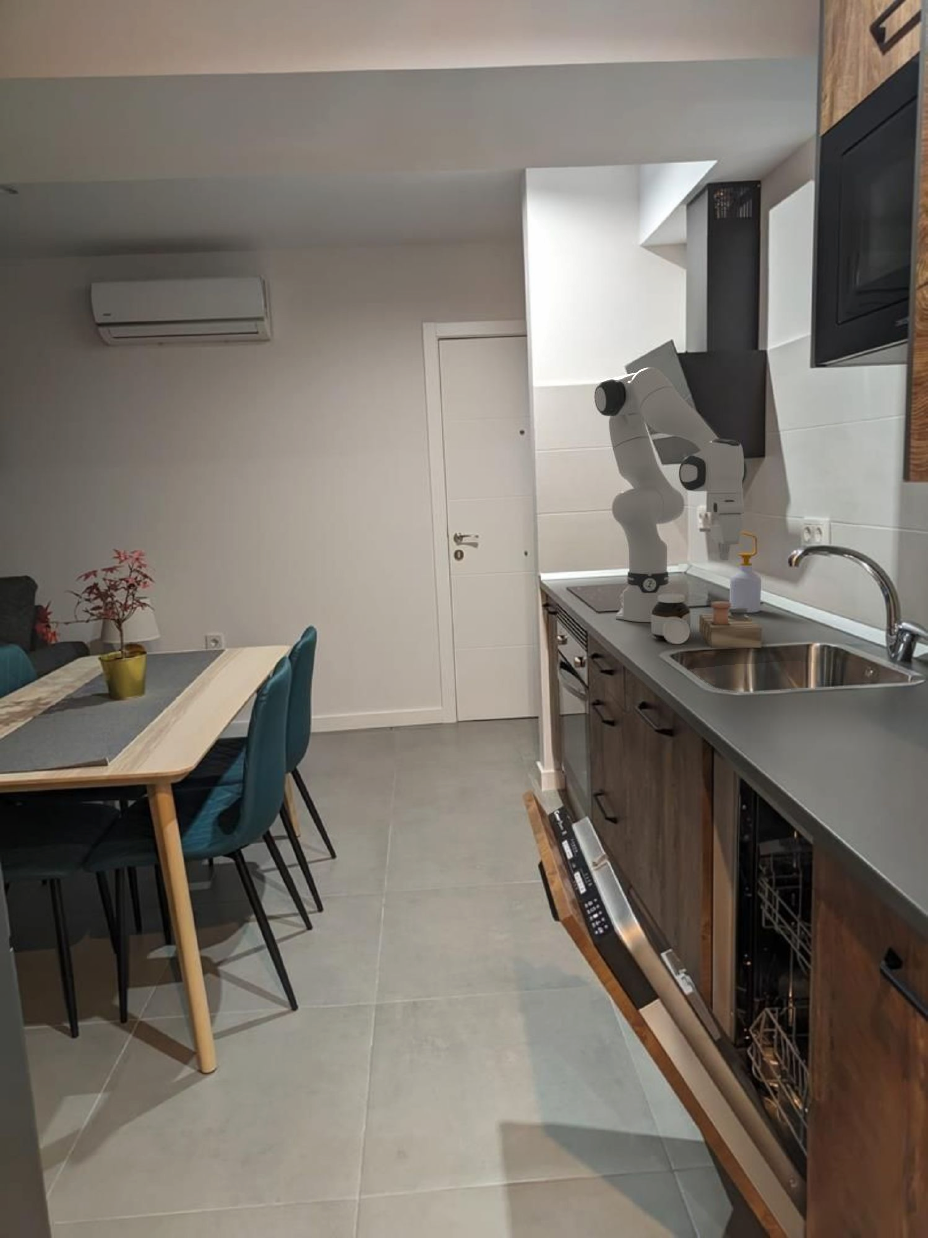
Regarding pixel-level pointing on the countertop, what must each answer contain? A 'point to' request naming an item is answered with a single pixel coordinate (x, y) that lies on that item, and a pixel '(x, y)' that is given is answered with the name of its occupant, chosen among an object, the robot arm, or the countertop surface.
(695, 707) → the countertop surface
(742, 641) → the oak block
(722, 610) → the terracotta plug
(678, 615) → the spread jar
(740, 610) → the grey plug
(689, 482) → the robot arm
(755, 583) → the soap bottle
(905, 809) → the countertop surface
